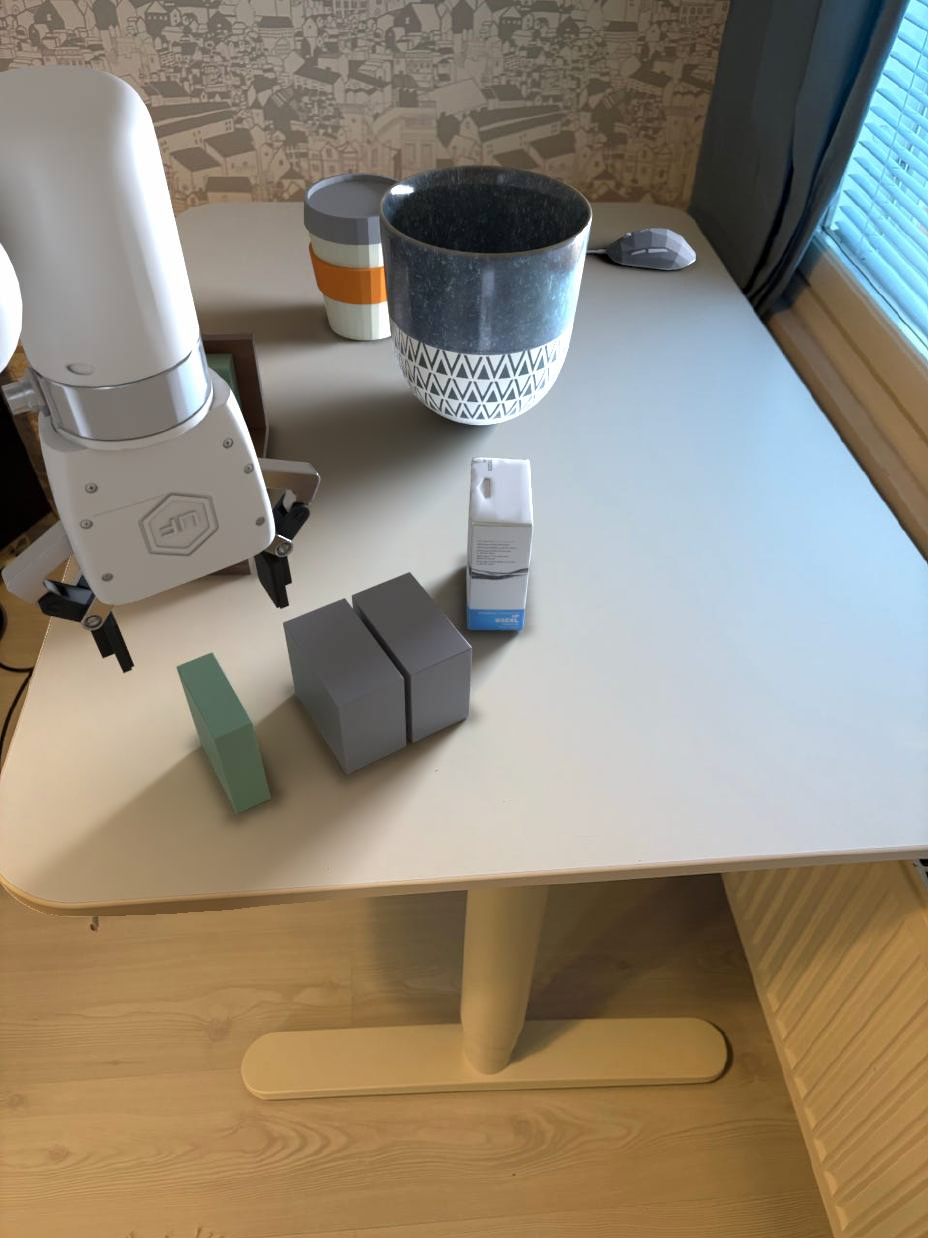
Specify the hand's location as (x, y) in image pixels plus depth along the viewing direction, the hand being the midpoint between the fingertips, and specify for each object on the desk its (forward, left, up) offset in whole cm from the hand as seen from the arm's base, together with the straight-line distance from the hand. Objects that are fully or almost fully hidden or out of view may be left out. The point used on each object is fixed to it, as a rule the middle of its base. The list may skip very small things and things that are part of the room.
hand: (200, 623), depth 55 cm
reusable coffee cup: (+38, +52, -16) cm, 66 cm away
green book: (0, 0, -16) cm, 16 cm away
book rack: (+9, +30, -16) cm, 35 cm away
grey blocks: (+12, 0, -16) cm, 19 cm away
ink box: (+26, +5, -16) cm, 30 cm away
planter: (+40, +30, -16) cm, 52 cm away
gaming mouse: (+78, +49, -16) cm, 93 cm away
